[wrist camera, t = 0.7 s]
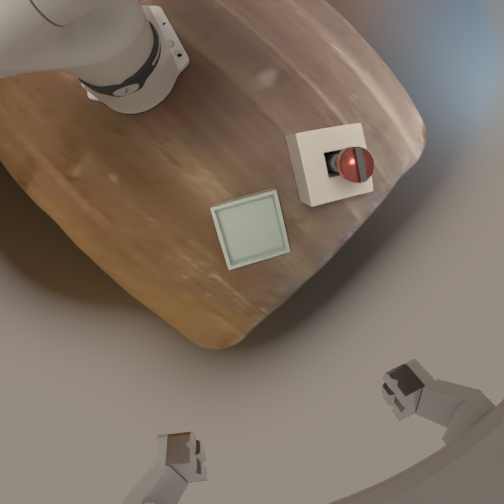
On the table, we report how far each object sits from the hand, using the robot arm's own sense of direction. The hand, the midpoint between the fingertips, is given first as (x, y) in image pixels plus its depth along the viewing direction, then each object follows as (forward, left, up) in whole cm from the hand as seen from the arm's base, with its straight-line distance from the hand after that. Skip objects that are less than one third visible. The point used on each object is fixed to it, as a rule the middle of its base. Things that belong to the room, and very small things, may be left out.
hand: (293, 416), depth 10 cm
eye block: (-5, +19, -42) cm, 46 cm away
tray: (+3, +3, -42) cm, 42 cm away
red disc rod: (-5, +19, -42) cm, 46 cm away
